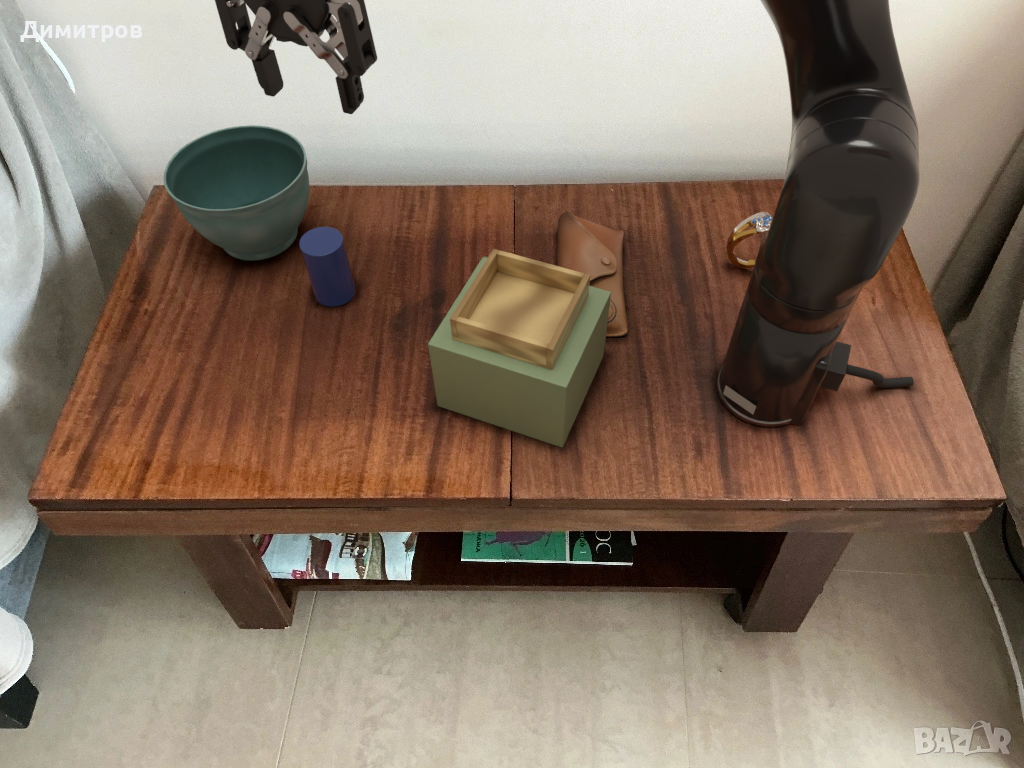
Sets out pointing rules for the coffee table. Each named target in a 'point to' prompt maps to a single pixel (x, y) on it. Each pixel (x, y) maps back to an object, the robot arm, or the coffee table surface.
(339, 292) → the blue cylinder
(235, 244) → the teal bowl
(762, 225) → the ring
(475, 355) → the riser
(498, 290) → the tray
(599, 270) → the sunglasses case
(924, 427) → the coffee table surface
